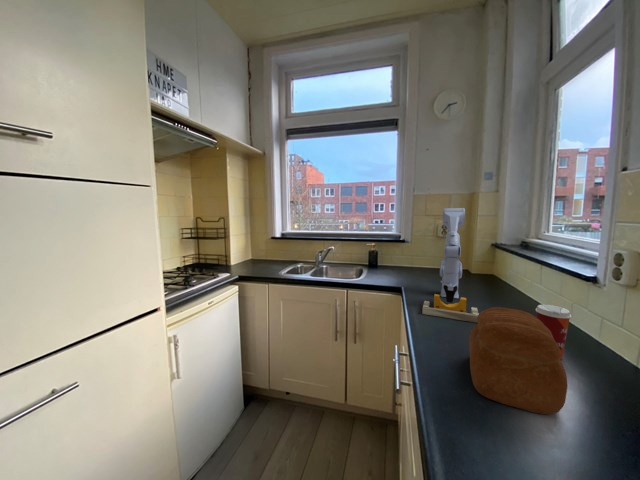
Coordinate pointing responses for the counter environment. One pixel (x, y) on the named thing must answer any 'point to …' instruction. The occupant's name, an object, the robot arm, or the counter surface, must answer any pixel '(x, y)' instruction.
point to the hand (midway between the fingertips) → (449, 301)
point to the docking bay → (451, 313)
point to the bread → (517, 361)
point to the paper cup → (555, 323)
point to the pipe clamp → (452, 307)
